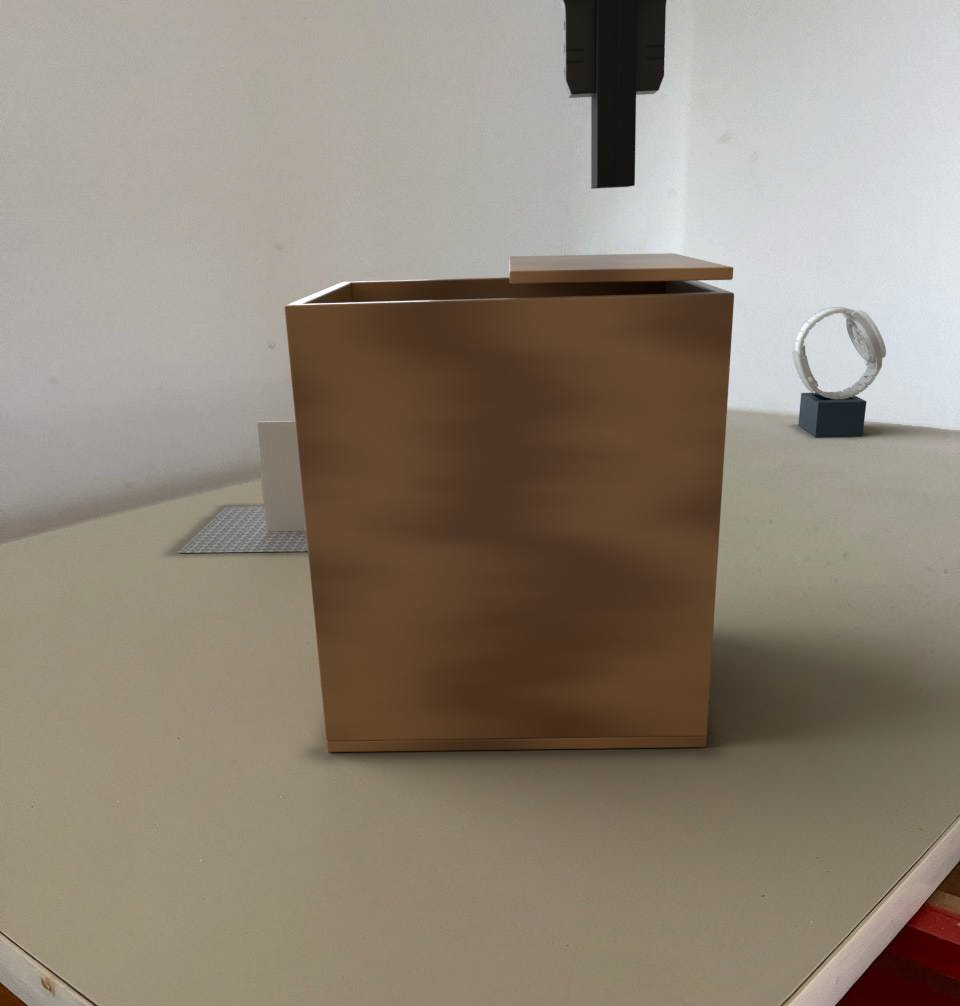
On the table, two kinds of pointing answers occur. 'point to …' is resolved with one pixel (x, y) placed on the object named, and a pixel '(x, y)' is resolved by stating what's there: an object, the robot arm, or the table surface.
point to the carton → (512, 509)
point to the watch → (843, 408)
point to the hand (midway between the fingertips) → (612, 186)
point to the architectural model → (283, 503)
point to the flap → (614, 268)
